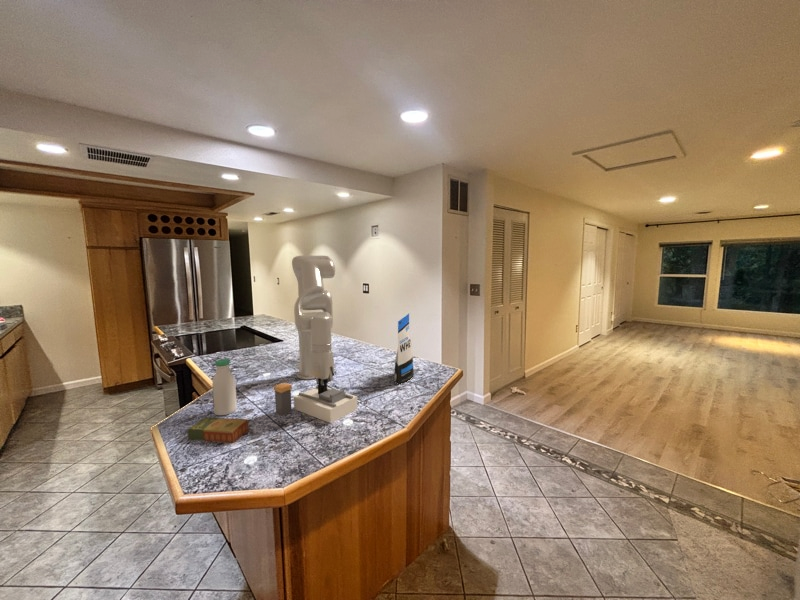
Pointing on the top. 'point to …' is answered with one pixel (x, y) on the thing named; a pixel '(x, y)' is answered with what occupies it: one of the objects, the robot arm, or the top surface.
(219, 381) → the milk bottle
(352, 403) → the socket
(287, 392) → the plug
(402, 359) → the protein powder
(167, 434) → the top surface
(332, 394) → the shutter
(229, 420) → the carton
